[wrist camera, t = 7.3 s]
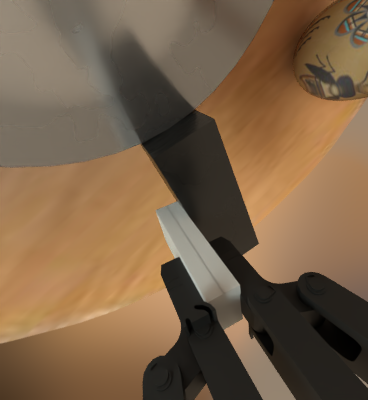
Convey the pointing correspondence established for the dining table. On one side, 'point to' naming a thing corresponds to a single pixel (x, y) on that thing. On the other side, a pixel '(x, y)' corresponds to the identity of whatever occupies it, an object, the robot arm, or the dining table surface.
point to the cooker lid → (128, 92)
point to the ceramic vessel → (335, 53)
